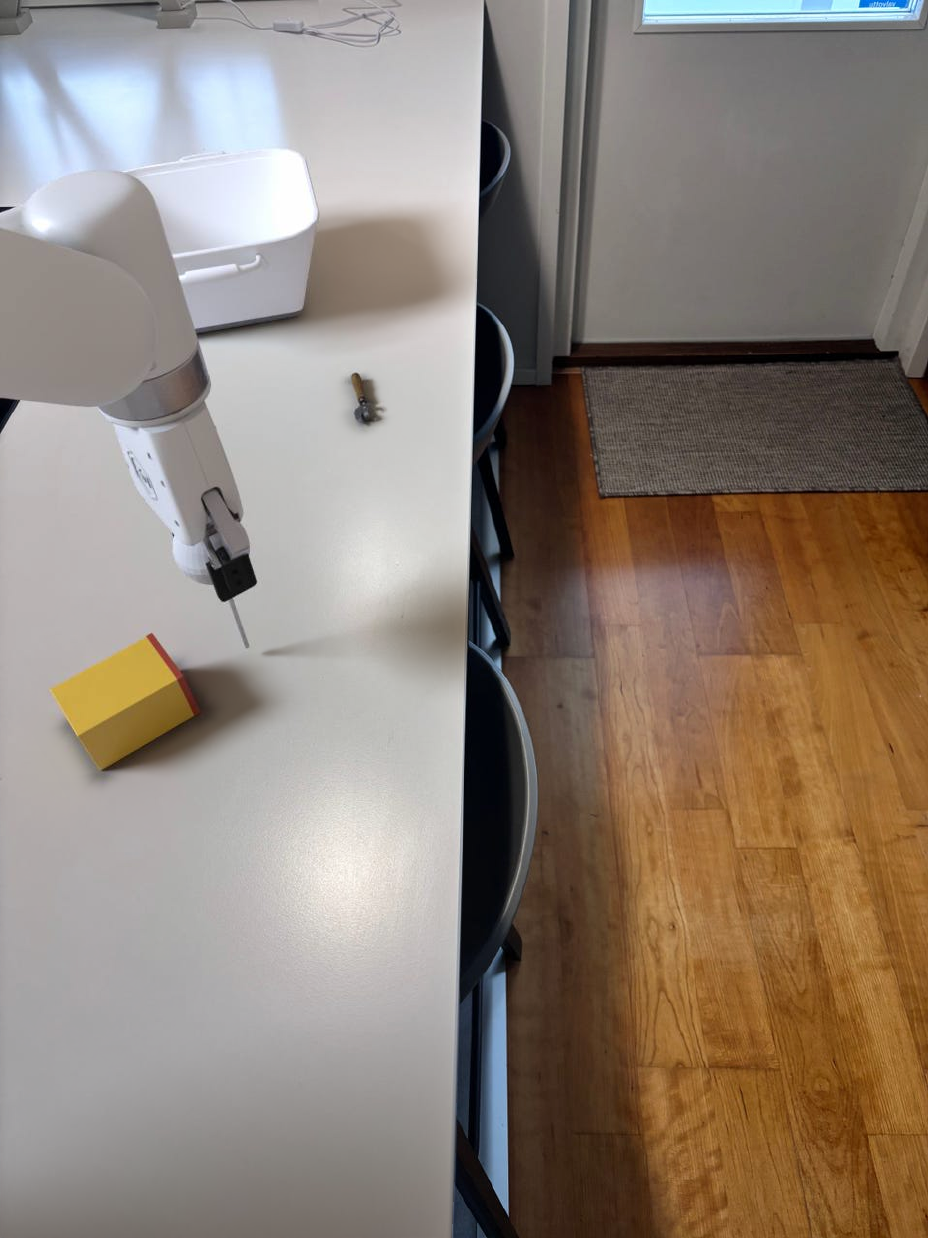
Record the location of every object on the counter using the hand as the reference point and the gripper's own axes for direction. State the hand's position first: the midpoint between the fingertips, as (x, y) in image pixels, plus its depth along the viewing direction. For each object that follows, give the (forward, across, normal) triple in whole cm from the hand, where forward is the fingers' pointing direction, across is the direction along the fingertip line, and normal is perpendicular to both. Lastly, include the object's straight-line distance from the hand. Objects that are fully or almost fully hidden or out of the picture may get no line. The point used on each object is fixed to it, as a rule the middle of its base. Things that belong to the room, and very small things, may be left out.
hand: (217, 566), depth 76 cm
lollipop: (+10, 0, 0) cm, 10 cm away
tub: (+11, -57, +28) cm, 65 cm away
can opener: (+11, -25, +28) cm, 39 cm away
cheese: (+11, 0, -11) cm, 16 cm away
